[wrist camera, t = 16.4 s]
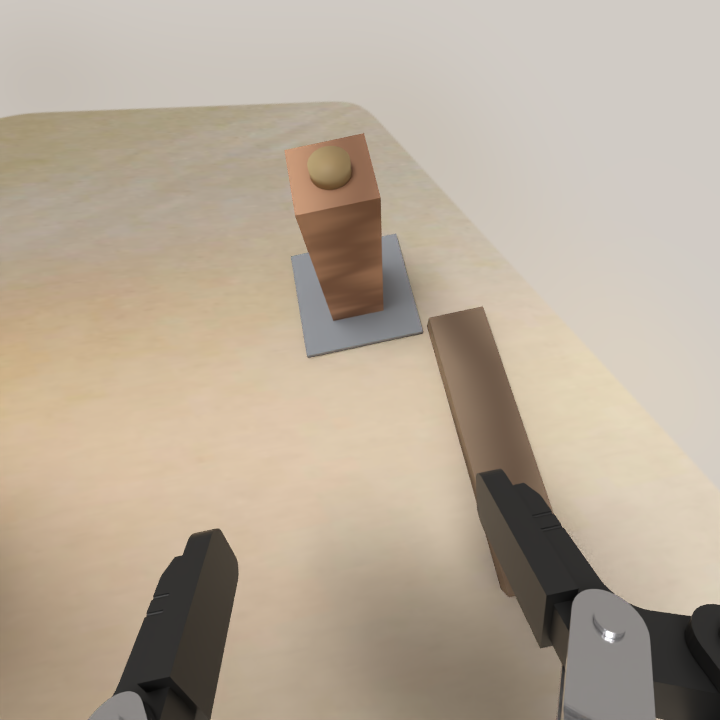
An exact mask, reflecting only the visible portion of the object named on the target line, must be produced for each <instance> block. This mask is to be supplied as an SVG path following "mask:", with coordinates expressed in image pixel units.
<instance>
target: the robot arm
mask: <svg viewBox="0 0 720 720" xmlns="http://www.w3.org/2000/svg"><path fill="white" fill-rule="evenodd" d="M476 495H477V510H478V514H479V518H480V521H481V524H482V526H483V529H484V531H485V533H486V535H487V537H488V539H489V541H490V543H491V545H492V548H493V550H494V552H495V554H496V556H497V558H498V560H499V562H500V564H501V566H502V569H503V571H504V573H505V575H506V577H507V579H508V581H509V583H510V585H511V588H512V590H513V592H514V594H515V596H516V598H517V600H518V602H519V604H520V607H521V609H522V611H523V613H524V615H525V617H526V619H527V621H528V623H529V625H530V628H531V630H532V632H533V634H534V636H535V638H536V640H537V642H538V644H539V647H540V648H544V647H549V646H553V647H554V649H555V651H556V653H557V655H558V657H559V659H560V661H561V663H562V664H561V674H560V685H559V695H558V706H557V716H556V720H656V718H659V719H664V720H720V605H716V604H706V605H703V606H700V607H698V608H697V609H696V610H695V611H694V612H693V614H692V616H686V615H678V614H671V613H664V612H657V611H650V610H645V609H642V608H639V607H636V606H634V605H632V604H629V603H628V602H626V601H625V600H623V599H622V598H620V597H619V596H617V595H615V594H614V593H613V592H611V591H610V590H609V589H608V588H607V587H606V586H605V585H604V584H603V582H602V581H601V580H600V579H599V577H598V576H597V574H596V573H595V571H594V570H593V569H592V567H591V566H590V564H589V563H588V562H587V560H586V559H585V557H584V556H583V554H582V553H581V552H580V550H579V549H578V547H577V546H576V545H575V543H574V542H573V540H572V539H571V537H570V536H569V535H568V533H567V532H566V530H565V529H564V528H562V526H561V523H560V522H559V520H558V519H557V518H556V516H555V515H554V514H553V513H552V511H551V509H550V508H549V506H548V505H547V503H546V502H545V501H544V499H543V498H542V496H541V495H540V494H539V493H537V492H536V491H535V490H533V489H532V488H531V487H529V486H528V485H527V484H525V483H520V484H515V485H513V484H512V483H511V481H510V480H509V478H508V477H507V475H506V474H505V472H504V471H503V470H502V469H495V470H490V471H486V472H481V473H477V474H476ZM237 582H238V562H237V559H236V557H235V555H234V553H233V551H232V549H231V548H230V546H229V544H228V542H227V540H226V539H225V537H224V535H223V533H222V531H221V530H220V529H212V530H208V531H203V532H198V533H194V534H192V535H191V536H190V537H189V539H188V542H187V545H186V547H185V550H184V553H183V555H182V556H178V557H175V558H174V559H173V560H172V562H171V563H170V565H169V566H168V567H167V569H166V570H165V571H164V573H163V574H162V576H161V578H160V580H159V583H158V585H157V588H156V590H155V593H154V595H153V597H154V599H153V600H152V601H151V603H150V606H149V608H148V611H147V617H145V618H144V621H143V623H142V626H141V629H140V631H139V634H138V636H137V639H136V641H135V644H134V646H133V649H132V651H131V654H130V656H129V659H128V662H127V664H126V667H125V669H124V672H123V674H122V677H121V679H120V682H119V684H118V686H117V689H116V691H115V693H114V694H113V696H112V697H111V698H110V699H108V700H107V701H106V702H104V703H103V704H102V705H101V706H100V707H99V708H98V709H97V710H96V711H95V712H94V713H93V714H92V715H91V716H90V718H89V719H88V720H210V718H211V713H212V708H213V703H214V698H215V693H216V688H217V683H218V678H219V673H220V667H221V662H222V657H223V652H224V647H225V642H226V637H227V632H228V627H229V622H230V617H231V612H232V607H233V602H234V597H235V592H236V587H237Z"/></svg>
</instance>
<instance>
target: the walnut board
mask: <svg viewBox="0 0 720 720" xmlns="http://www.w3.org/2000/svg"><path fill="white" fill-rule="evenodd" d="M427 327H428V331H429V334H430V338H431V341H432V345H433V349H434V352H435V356H436V359H437V363H438V366H439V370H440V373H441V377H442V381H443V384H444V388H445V391H446V395H447V398H448V402H449V405H450V409H451V413H452V416H453V420H454V423H455V427H456V430H457V434H458V437H459V441H460V445H461V448H462V452H463V455H464V459H465V462H466V466H467V469H468V473H469V477H470V480H471V484H472V487H473V491H474V494H475V498H476V501H477V495H476V474H477V473H481V472H486V471H490V470H495V469H502V470H503V471H504V472H505V474H506V475H507V477H508V478H509V480H510V481H511V483H512V484H513V485H515V484H520V483H525V484H527V485H528V486H529V487H531V488H532V489H533V490H535V491H536V492H537V493H539V494H540V495H541V496H542V498H543V499H544V501H545V502H546V503H547V505H548V506H549V508H550V509H551V511H552V508H551V505H550V502H549V499H548V496H547V493H546V490H545V487H544V484H543V481H542V478H541V475H540V472H539V470H538V467H537V464H536V461H535V458H534V455H533V452H532V449H531V446H530V443H529V440H528V437H527V434H526V431H525V428H524V426H523V423H522V420H521V417H520V414H519V411H518V408H517V405H516V402H515V399H514V396H513V393H512V390H511V387H510V385H509V382H508V379H507V376H506V373H505V370H504V367H503V364H502V361H501V358H500V355H499V352H498V349H497V346H496V344H495V341H494V338H493V335H492V332H491V329H490V326H489V323H488V320H487V317H486V314H485V311H484V308H483V307H478V308H473V309H469V310H464V311H459V312H455V313H450V314H445V315H441V316H436V317H431V318H429V321H428V325H427ZM552 513H553V511H552ZM553 514H554V513H553ZM486 537H487V535H486ZM487 541H488V544H489V548H490V551H491V555H492V558H493V562H494V565H495V569H496V573H497V576H498V580H499V583H500V587H501V589H502V590H503V591H504V592H505V593H506V595H507V596H508V597H512V596H515V594H514V592H513V590H512V588H511V585H510V583H509V581H508V579H507V577H506V575H505V573H504V571H503V569H502V566H501V564H500V562H499V560H498V558H497V556H496V554H495V552H494V550H493V548H492V545H491V543H490V541H489V539H488V537H487Z"/></svg>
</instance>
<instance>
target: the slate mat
mask: <svg viewBox="0 0 720 720" xmlns="http://www.w3.org/2000/svg"><path fill="white" fill-rule="evenodd" d="M291 260H292V266H293V272H294V279H295V285H296V291H297V297H298V303H299V310H300V316H301V322H302V328H303V334H304V341H305V347H306V353H307V357H308V358H309V357H313V356H318V355H323V354H327V353H332V352H337V351H341V350H346V349H351V348H355V347H360V346H365V345H369V344H374V343H379V342H383V341H388V340H393V339H397V338H402V337H407V336H411V335H416V334H421V333H423V330H422V326H421V323H420V319H419V315H418V312H417V308H416V304H415V301H414V297H413V294H412V290H411V286H410V283H409V279H408V275H407V272H406V268H405V265H404V261H403V257H402V254H401V250H400V246H399V243H398V239H397V236H396V234H392V235H387V236H383V237H382V273H383V310H384V311H379V312H374V313H369V314H364V315H360V316H355V317H350V318H345V319H340V320H335V321H333V319H332V316H331V313H330V310H329V308H328V305H327V302H326V299H325V297H324V294H323V291H322V288H321V286H320V283H319V280H318V277H317V275H316V272H315V269H314V266H313V263H312V261H311V258H310V255H309V253H305V254H300V255H295V256H291Z"/></svg>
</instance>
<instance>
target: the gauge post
mask: <svg viewBox="0 0 720 720" xmlns="http://www.w3.org/2000/svg"><path fill="white" fill-rule="evenodd" d="M285 156H286V162H287V168H288V174H289V181H290V187H291V193H292V199H293V205H294V211H295V216H296V219H297V222H298V225H299V228H300V230H301V233H302V236H303V239H304V241H305V244H306V247H307V250H308V252H309V255H310V258H311V261H312V263H313V266H314V269H315V272H316V275H317V277H318V280H319V283H320V286H321V288H322V291H323V294H324V297H325V299H326V302H327V305H328V308H329V310H330V313H331V316H332V319H333V321H335V320H340V319H345V318H350V317H355V316H360V315H364V314H369V313H374V312H379V311H384V310H383V273H382V236H381V199H380V194H379V190H378V186H377V182H376V178H375V175H374V171H373V167H372V163H371V159H370V155H369V151H368V147H367V144H366V140H365V136H364V133H363V134H358V135H354V136H349V137H344V138H340V139H335V140H330V141H326V142H321V143H316V144H312V145H307V146H302V147H298V148H293V149H288V150H285Z"/></svg>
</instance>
